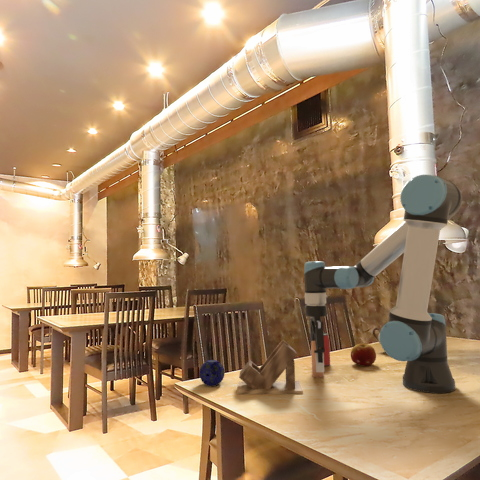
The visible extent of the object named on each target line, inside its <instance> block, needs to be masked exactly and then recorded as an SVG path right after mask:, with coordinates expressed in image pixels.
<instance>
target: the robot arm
mask: <svg viewBox="0 0 480 480" xmlns="http://www.w3.org/2000/svg"><path fill="white" fill-rule="evenodd" d="M399 199H400V205H401V206H402V208H403V209H404V215H403V222H402V223H401V224H400V225H399V226H398V227H396V229H395V230H393V231H392V232H391V233H390V234H388V236H386V237H385V238H384V239H383V240H382V241H381V242H380V243H378V245H376V246H375V247H374V248H373V249H372V250H371V251H370V252H368V253H367V254H365V256H364V257H363V258H362V259H360V261H359V262H357V263H355V265H354V266H353V265H352V266H348V265H341V266H326V262H325V261H307V262H305V263H304V265H303V266H304V269H303V271H304V273H303V277H304V279H303V281H304V304H305V306H304V307H305V308H304V309H305V310H304V311H305V313H304V314H305V316H306V317H310V318H309V321H310V322H309V323H310V324H309V325H310V330H309V331H310V332H309V333H310V337H309V338H310V339H309V343H310V344H311V341H315V344H316V350H314V353H316V372H324V373H325V366H324V352H325V347H324V334H323V333H324V322H323V321H322V319H321V318H322V317H326V316H327V314H328V311H327V309H328V308H327V307H328V306H327V305H326V304H327V298H329V295H328V294H327V289H341V290H349V289H351V290H353V289H355V288H365V287H366V288H367V287H368V286H370V285H372V284H373V283H374V281H375V277H376V276H377V275H379V274H380V273H381V272H383V271H384V270H385V269H386V268H387V267H389V266H390V265H391V264H392V263H393V262H394V261H396V260H397V259H398V258H399V257H400V256H402V255H403V258H402V265H401V271H400V277H399V283H398V288H397V289H398V290H397V297H396V303H395V305H394V306H393V307H392V308H390V309H389V311H388V312H389V314H388V320H387V322H386V323H385V324H384V325H383V326H382V327H381V328H380V329H381V331H380V332H379V333H380V336H379V337H380V343H381V344H380V343H379V344H380V345H381V348H382V349H383V350H384V352H385V353H386V354H387V355H388V357H390V358H392V359H394V360H396V361H398V362H406V364H405V368H404V374H402V385H403V386H404V387H406V388H408V389H411V390H413V391H418V392H424V393H434V394H435V393H436V394H440V393H442V394H443V393H444V392H445V393H451V392H454V391H456V380H455V378H453V375H452V371H451V369H450V366H449V365H450V364H449V363H448V345H447V324H446V319H445V316H444V315H443V314H440V313H430V312H428V308H429V302H430V296H431V290H432V289H431V288H432V285H433V284H432V283H433V277H434V271H435V266H436V265H435V264H436V258H437V251H438V245H439V240H440V233H441V230H443V228H446V226H448V222H449V220H450V219H451V218H453V217H454V216H455V215H456V214H458V212H459V211H460V208H461V207H462V204H463V194H462V191H461V190H460V188H459V187H458V185H457V184H455V183H454V182H452V181H450V180H447V179H444V178H442V177H440V176H437V175H433V174H432V175H431V174H419V175H416V176H414V177H412V178H411V179H410V180H408V181H407V182H406V183H405V184H404V186H403V187H402V189H401V192H400V198H399ZM310 349H311V356H312V348H311V347H310ZM453 390H454V391H453ZM450 391H451V392H450Z"/></svg>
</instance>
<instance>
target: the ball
mask: <svg viewBox="0 0 480 480" xmlns="http://www.w3.org/2000/svg"><path fill="white" fill-rule="evenodd" d="M199 378H200V380H201V382H202V383H203V384H205V385H206V386H208V387H214V386H217V385H219V384H221V383H223V380H224V378H225V369H224V366H223V364H222V363H221V362H220V361H218V360H217V359H216V360H215V359H209V360H208V359H207V360H206V361H205V362H203V364H202V365H201V367H200V368H199Z"/></svg>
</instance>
